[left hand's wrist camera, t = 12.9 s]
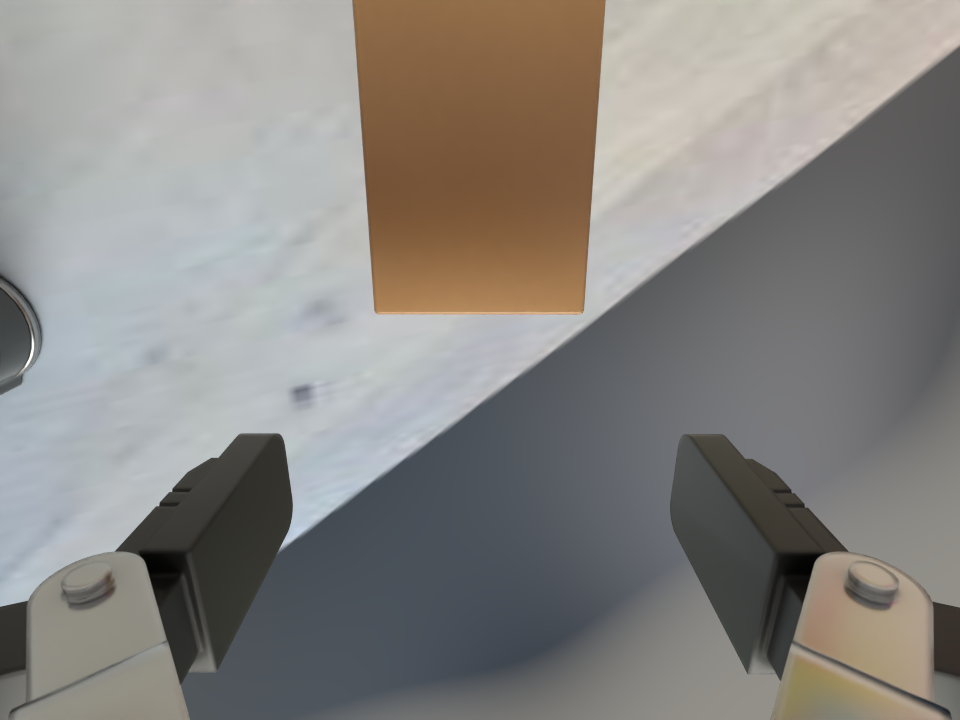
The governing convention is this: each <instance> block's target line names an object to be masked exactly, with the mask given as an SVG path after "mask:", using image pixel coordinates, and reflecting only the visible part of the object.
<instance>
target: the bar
mask: <svg viewBox="0 0 960 720" xmlns="http://www.w3.org/2000/svg"><path fill="white" fill-rule="evenodd" d="M605 1H606V0H352V2H353V16H354V30H355V44H356V58H357V72H358V86H359V100H360V114H361V128H362V142H363V156H364V170H365V184H366V198H367V212H368V226H369V240H370V254H371V268H372V282H373V296H374V310H375V312H376V313H377V314H582V313H583V311H584V300H585V285H586V271H587V257H588V243H589V229H590V214H591V200H592V186H593V172H594V158H595V143H596V129H597V115H598V101H599V87H600V72H601V58H602V44H603V30H604V16H605Z"/></svg>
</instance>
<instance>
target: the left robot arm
mask: <svg viewBox="0 0 960 720" xmlns="http://www.w3.org/2000/svg"><path fill="white" fill-rule="evenodd" d="M40 347H41V333H40V328H39V324H38V321H37V319H36V316H35V314H34V312H33V310H32V309H31V307H30V305H29V304H28V302H27V301H26V300H25V299H24V297H23V296H22V295H21V294H20V293H19V292H18V291H17V290H16V289H15V288H14V287H13V286H12V285H10V284H9V283H8V282H6V281H5V280H3V279H2V278H0V395H2V394H4V393H6V392H8V391H10V390H12V389H14V388H16V387H18V386H20V385H21V383H22V379H21V378H22V374H23V373H25V372H26V371H27V370H28V369H30V368H31V367H32V365H33V364H34V363H35V361H36V359H37V357H38V355H39V351H40ZM292 510H293V502H292V494H291V486H290V479H289V472H288V465H287V458H286V451H285V444H284V440H283V438H282V436H281V435H280V434H239V435H238V436H237V437H236V438H235V439H234V441H233V442H232V443H231V444H230V445H229V446H228V447H227V449H226V450H225V451H224V452H223V453H222V454H221V456H220V457H219V458H211V459H209V460H207V461H206V462H204V463H202V464H201V465H199V466H197V467H196V468H194V469H192V470H191V471H189V472H188V473H187V474H186V475H185V476H184V477H183V478H182V479H181V480H180V481H179V482H178V483H177V484H176V486H175V487H174V488H173V491H172V492H169V493H168V494H167V495H166V496H165V498H164V499H163V500H162V501H161V502H160V505H159V506H156V507H155V508H154V509H153V511H152V512H151V513H150V514H149V515H148V516H147V517H146V518H145V519H144V520H143V521H142V523H141V524H140V525H139V526H138V527H137V528H136V529H135V530H134V531H133V532H132V533H131V534H130V536H129V537H128V538H127V539H126V540H125V541H124V542H123V543H122V544H121V545H120V546H119V548H118V549H117V550H116V551H115V552H108V553H102V554H97V555H93V556H90V557H87V558H84V559H81V560H79V561H76V562H74V563H72V564H70V565H68V566H66V567H64V568H62V569H60V570H59V571H57V572H55V573H54V574H53V575H51V576H50V577H48V578H47V579H46V580H45V581H43V582H42V583H41V584H40V585H39V586H38V587H37V588H36V589H35V591H34V592H33V593H32V595H31V596H30V598H29V600H28V601H25V602H21V603H16V604H11V605H7V606H2V607H0V720H190V719H189V715H188V711H187V708H186V704H185V701H184V697H183V693H182V690H181V686H180V685H181V684H182V682H183V680H184V678H185V677H186V675H187V673H188V672H217V670H218V668H219V666H220V664H221V662H222V660H223V658H224V656H225V654H226V652H227V650H228V648H229V647H230V645H231V643H232V641H233V639H234V637H235V635H236V633H237V631H238V629H239V627H240V625H241V623H242V621H243V619H244V617H245V615H246V613H247V611H248V609H249V607H250V605H251V603H252V601H253V599H254V597H255V595H256V594H257V592H258V590H259V588H260V586H261V584H262V582H263V580H264V578H265V576H266V574H267V572H268V570H269V568H270V566H271V564H272V562H273V560H274V558H275V556H276V554H277V552H278V550H279V548H280V546H281V544H282V542H283V540H284V539H285V537H286V535H287V533H288V530H289V527H290V524H291V519H292ZM670 512H671V521H672V525H673V529H674V532H675V534H676V536H677V538H678V540H679V542H680V543H681V545H682V547H683V549H684V551H685V553H686V555H687V557H688V559H689V561H690V563H691V565H692V567H693V569H694V571H695V573H696V575H697V577H698V578H699V580H700V582H701V584H702V586H703V588H704V590H705V592H706V594H707V596H708V598H709V600H710V602H711V604H712V606H713V608H714V610H715V611H716V613H717V615H718V617H719V619H720V621H721V623H722V625H723V627H724V629H725V631H726V633H727V635H728V637H729V639H730V641H731V643H732V644H733V646H734V648H735V650H736V652H737V654H738V656H739V658H740V660H741V662H742V664H743V666H744V668H745V670H746V672H747V674H777V676H778V678H779V679H780V681H781V683H780V686H779V690H778V693H777V697H776V701H775V704H774V708H773V711H772V715H771V718H770V720H960V608H959V607H954V606H949V605H945V604H940V603H935V602H932V600H931V598H930V596H929V595H928V593H927V592H926V591H925V589H924V588H923V587H922V586H921V585H920V584H919V583H918V582H916V581H915V580H914V579H913V578H912V577H910V576H909V575H907V574H906V573H905V572H903V571H901V570H900V569H898V568H896V567H894V566H892V565H890V564H888V563H886V562H884V561H881V560H879V559H876V558H873V557H870V556H867V555H863V554H858V553H852V552H848V550H847V549H846V548H845V547H844V546H843V545H842V544H841V543H840V542H839V541H838V540H837V539H836V538H835V536H834V535H833V534H832V533H831V532H830V531H829V530H828V529H827V528H826V527H825V526H824V525H823V524H822V522H821V521H820V520H819V519H818V518H817V517H816V516H815V515H814V514H813V513H812V512H811V511H810V510H809V508H805V506H804V503H803V502H802V501H801V500H800V499H799V498H798V497H797V496H796V494H794V493H792V492H791V489H790V488H789V487H788V486H787V485H786V484H785V483H784V482H783V480H782V479H781V478H780V477H779V476H778V475H777V474H776V473H775V472H773V471H771V470H770V469H768V468H766V467H765V466H763V465H761V464H760V463H758V462H756V461H755V460H753V459H745V458H744V457H743V456H742V455H741V454H740V452H739V451H738V450H737V449H736V448H735V447H734V446H733V444H732V443H731V442H730V441H729V440H728V439H727V438H726V437H725V436H724V435H721V434H685V435H683V436H682V437H681V439H680V441H679V445H678V452H677V459H676V466H675V473H674V480H673V487H672V494H671V502H670Z"/></svg>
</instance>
